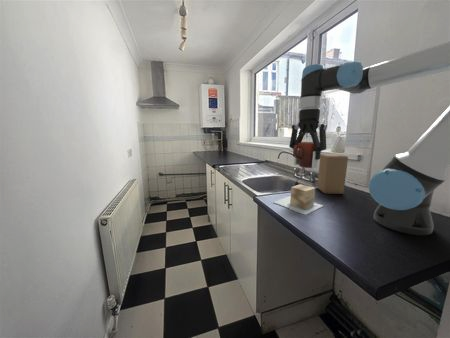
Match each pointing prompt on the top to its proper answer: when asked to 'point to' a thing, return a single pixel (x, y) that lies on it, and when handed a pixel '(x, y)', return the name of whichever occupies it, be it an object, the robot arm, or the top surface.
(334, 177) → the wooden block
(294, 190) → the oak block
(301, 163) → the mug
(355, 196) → the top surface
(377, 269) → the top surface
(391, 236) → the top surface
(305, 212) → the board
